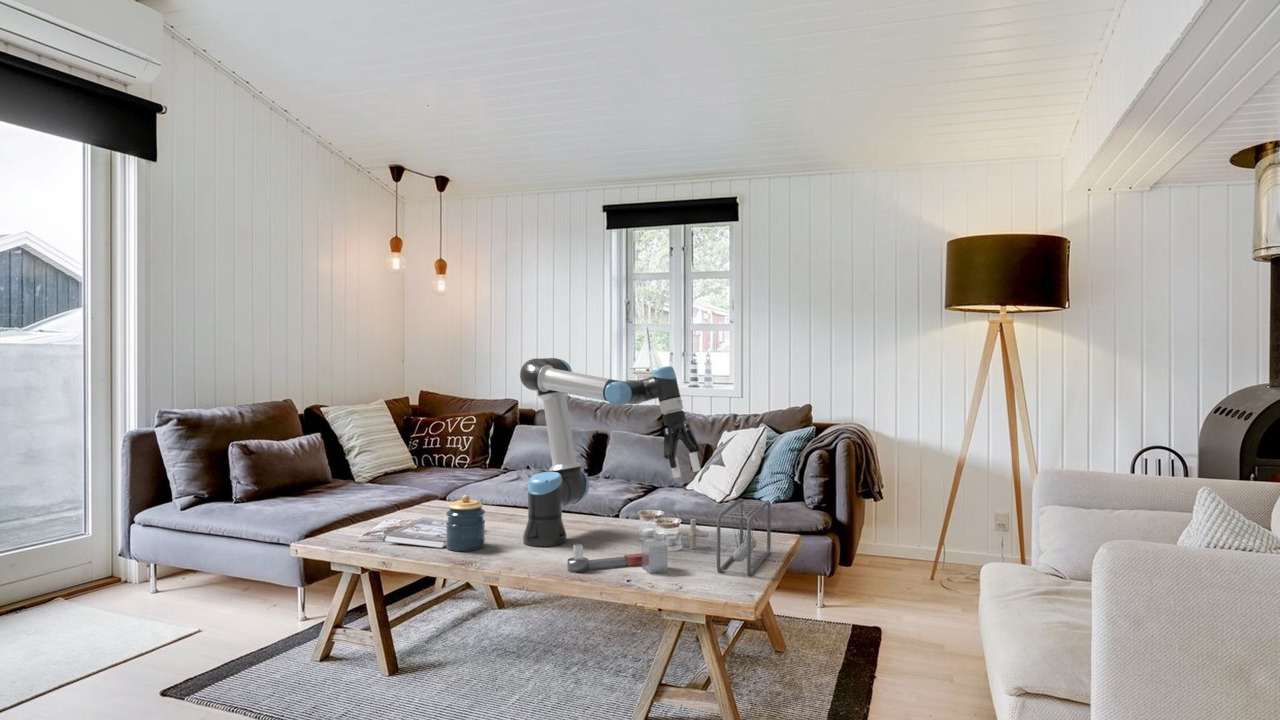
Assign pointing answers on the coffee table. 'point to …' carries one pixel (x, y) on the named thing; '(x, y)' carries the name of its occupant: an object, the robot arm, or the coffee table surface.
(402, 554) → the coffee table surface
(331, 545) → the coffee table surface
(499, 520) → the coffee table surface
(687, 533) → the beige peg jack
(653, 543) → the light grey block
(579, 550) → the ratchet
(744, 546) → the newton's cradle
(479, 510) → the canister
